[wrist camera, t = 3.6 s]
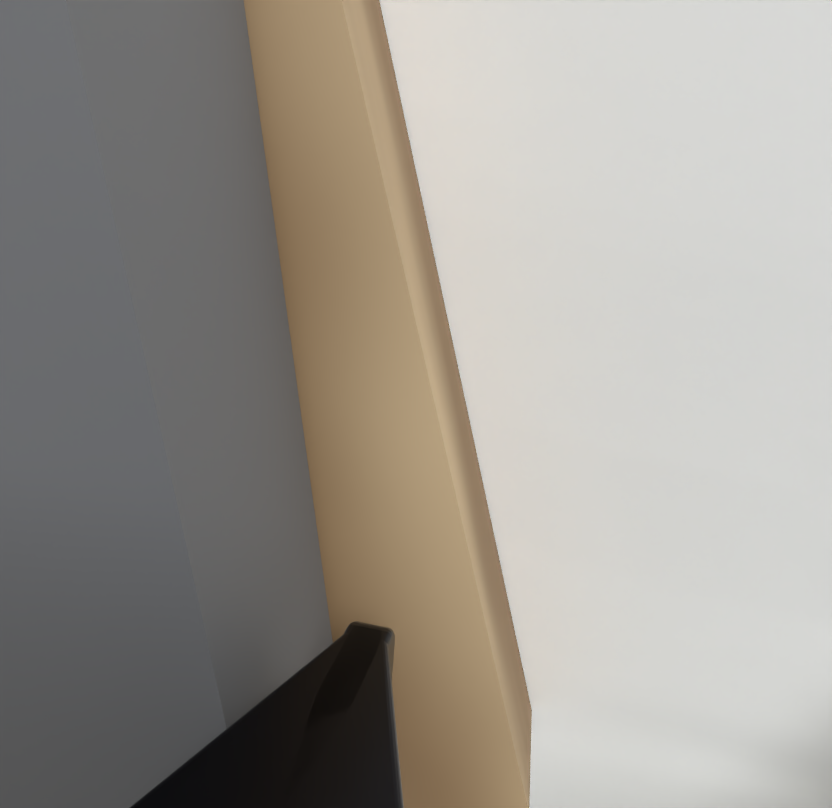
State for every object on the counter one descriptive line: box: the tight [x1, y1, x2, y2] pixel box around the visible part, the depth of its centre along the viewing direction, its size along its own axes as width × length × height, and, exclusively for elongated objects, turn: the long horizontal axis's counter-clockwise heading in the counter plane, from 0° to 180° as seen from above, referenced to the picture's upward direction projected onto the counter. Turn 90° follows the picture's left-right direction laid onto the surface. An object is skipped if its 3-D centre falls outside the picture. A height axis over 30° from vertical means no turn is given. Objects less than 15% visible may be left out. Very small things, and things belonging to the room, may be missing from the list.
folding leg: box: [0, 0, 333, 808], centre depth 7 cm, size 15×3×4 cm, turn 4°
